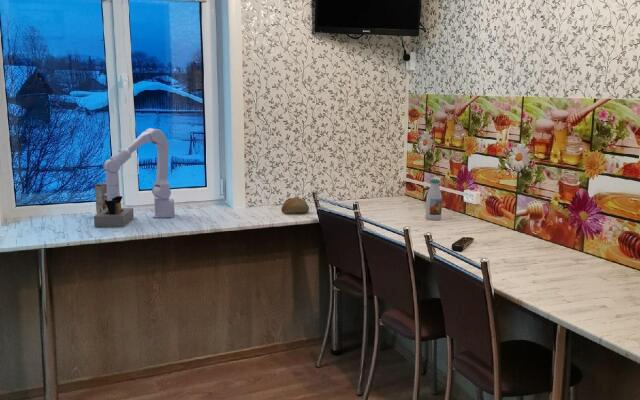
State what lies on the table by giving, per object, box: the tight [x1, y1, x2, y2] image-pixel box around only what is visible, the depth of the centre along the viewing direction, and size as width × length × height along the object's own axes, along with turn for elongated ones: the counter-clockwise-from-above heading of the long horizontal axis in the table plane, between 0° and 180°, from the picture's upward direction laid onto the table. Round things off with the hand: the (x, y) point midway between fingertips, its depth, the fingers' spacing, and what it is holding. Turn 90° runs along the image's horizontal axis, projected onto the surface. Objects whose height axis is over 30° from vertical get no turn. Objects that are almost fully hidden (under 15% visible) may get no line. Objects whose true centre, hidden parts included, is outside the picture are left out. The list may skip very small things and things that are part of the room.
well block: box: [93, 207, 135, 228], centre depth 278 cm, size 13×20×5 cm, turn 4°
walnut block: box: [108, 202, 122, 214], centre depth 278 cm, size 5×5×9 cm
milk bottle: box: [425, 178, 443, 221], centre depth 290 cm, size 8×8×20 cm
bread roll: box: [280, 197, 310, 214], centre depth 303 cm, size 10×15×8 cm, turn 112°
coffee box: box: [94, 182, 107, 215], centre depth 293 cm, size 9×6×16 cm
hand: (114, 212), depth 278 cm, fingers open, 7 cm apart
